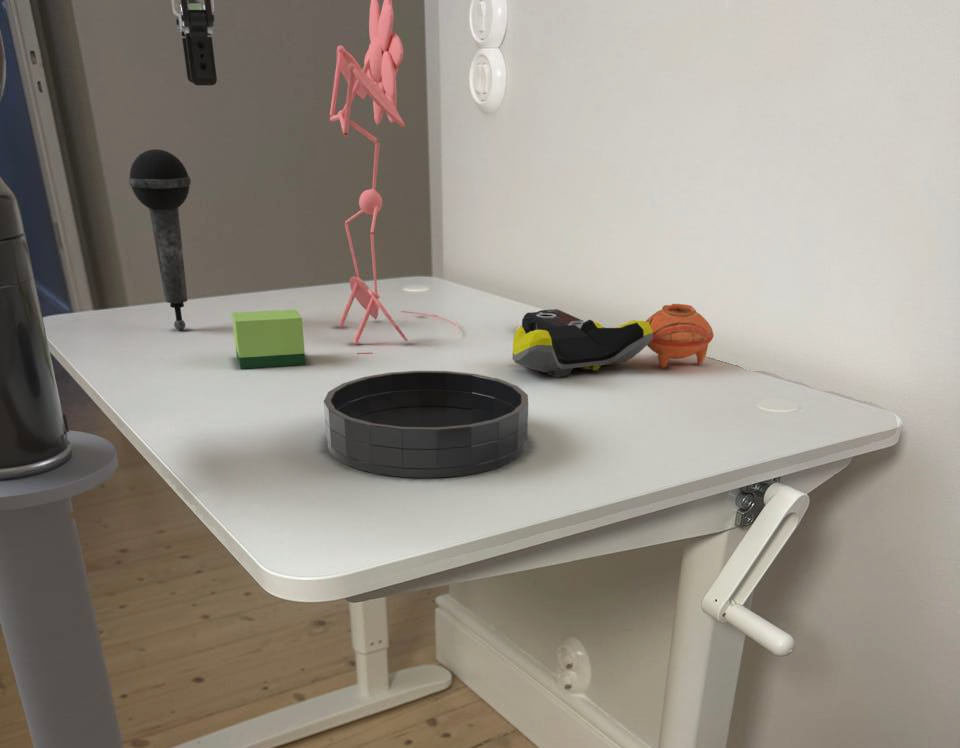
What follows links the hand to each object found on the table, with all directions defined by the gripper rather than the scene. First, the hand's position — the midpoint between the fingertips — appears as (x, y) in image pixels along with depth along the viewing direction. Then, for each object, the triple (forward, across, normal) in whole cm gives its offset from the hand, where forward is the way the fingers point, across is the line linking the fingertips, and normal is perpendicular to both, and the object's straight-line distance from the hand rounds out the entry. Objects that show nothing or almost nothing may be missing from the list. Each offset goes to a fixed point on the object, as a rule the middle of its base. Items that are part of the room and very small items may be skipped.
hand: (202, 83), depth 92 cm
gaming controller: (+27, +9, +35) cm, 45 cm away
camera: (+28, -7, +39) cm, 48 cm away
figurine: (+27, -13, +21) cm, 37 cm away
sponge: (+27, -3, +4) cm, 27 cm away
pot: (+28, +9, +47) cm, 55 cm away
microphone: (+27, -20, -5) cm, 34 cm away
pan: (+27, +28, +14) cm, 41 cm away
